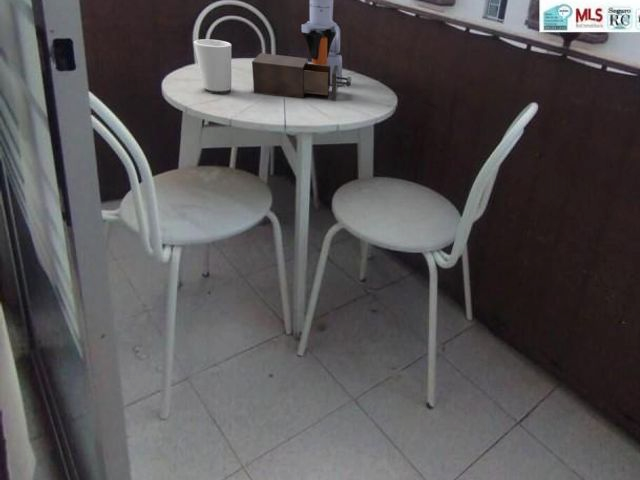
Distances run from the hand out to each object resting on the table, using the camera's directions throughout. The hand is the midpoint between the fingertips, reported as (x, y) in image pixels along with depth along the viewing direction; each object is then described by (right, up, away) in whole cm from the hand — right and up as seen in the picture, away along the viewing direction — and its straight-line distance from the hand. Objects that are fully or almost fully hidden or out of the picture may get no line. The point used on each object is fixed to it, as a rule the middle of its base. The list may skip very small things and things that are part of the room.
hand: (319, 58), depth 154 cm
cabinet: (-13, -8, +5) cm, 16 cm away
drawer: (0, -8, +6) cm, 10 cm away
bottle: (0, -1, +1) cm, 1 cm away
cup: (-29, -12, -5) cm, 32 cm away
